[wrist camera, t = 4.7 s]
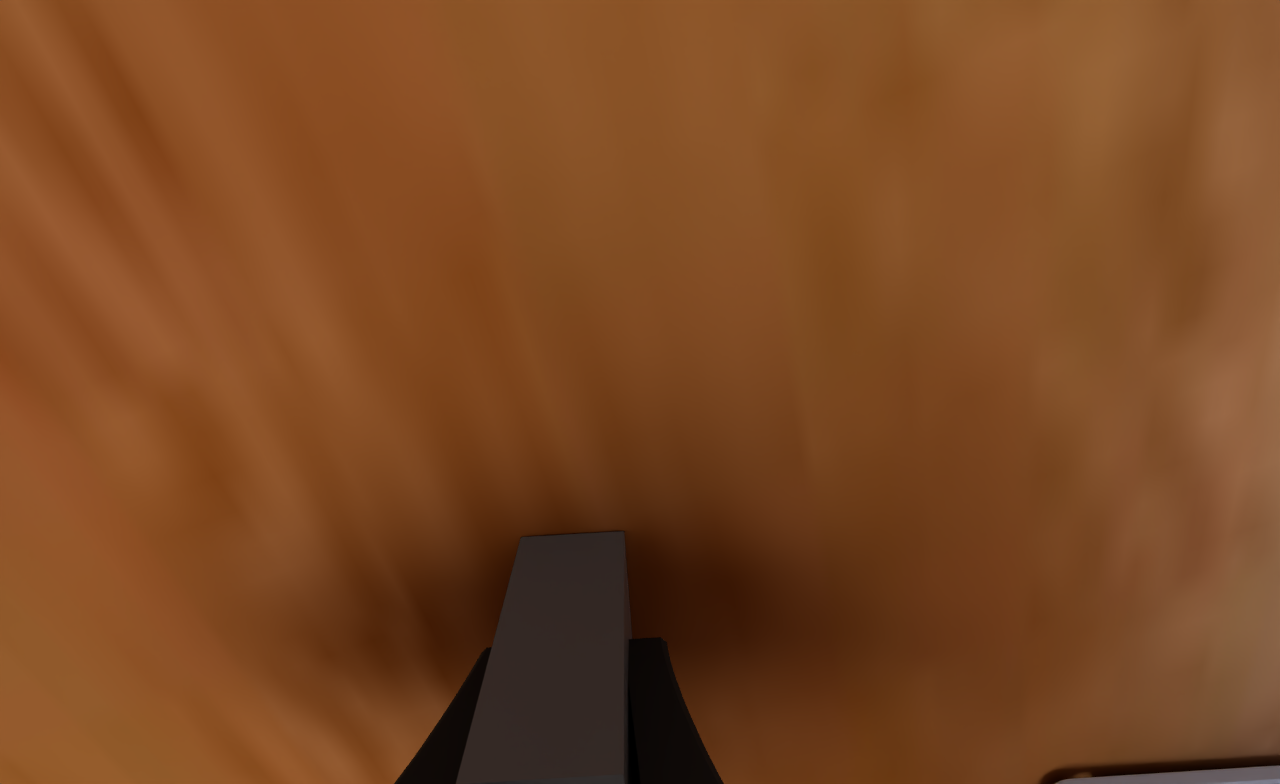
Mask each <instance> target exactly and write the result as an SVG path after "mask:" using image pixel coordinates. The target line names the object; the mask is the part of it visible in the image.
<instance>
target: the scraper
mask: <svg viewBox="0 0 1280 784" xmlns="http://www.w3.org/2000/svg"><path fill="white" fill-rule="evenodd" d="M629 639H632V627H631V614H630V601H629V587H628V574H627V561H626V548H625V534H624V531H617V532H600V533H583V534H566V535H549V536H532V537H521V538H520V542H519V546H518V550H517V554H516V557H515V561H514V565H513V569H512V573H511V576H510V580H509V584H508V588H507V592H506V595H505V599H504V603H503V607H502V610H501V614H500V618H499V622H498V626H497V629H496V633H495V637H494V641H493V645H492V648H491V652H490V656H489V660H488V664H487V667H486V671H485V675H484V679H483V683H482V686H481V690H480V694H479V698H478V701H477V705H476V709H475V713H474V717H473V720H472V724H471V728H470V732H469V736H468V739H467V743H466V747H465V751H464V755H463V758H462V762H461V766H460V770H459V773H458V777H457V781H456V784H637V783H636V771H635V758H634V746H633V734H632V721H631V709H630V697H629V684H628V657H629Z"/></svg>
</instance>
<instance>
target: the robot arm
mask: <svg viewBox="0 0 1280 784" xmlns="http://www.w3.org/2000/svg"><path fill="white" fill-rule="evenodd" d="M491 648H492V647H489V648H486V649H485V650H484V651H483V652H482V653H481V655H480V656H479V658H478V660H477V661H476V663H475V665H474V667H473V668H472V670H471V672H470V673H469V675H468V677H467V678H466V680H465V681H464V683H463V685H462V686H461V688H460V689H459V691H458V693H457V694H456V696H455V697H454V699H453V700H452V702H451V704H450V705H449V707H448V708H447V710H446V711H445V713H444V714H443V716H442V717H441V719H440V720H439V722H438V723H437V725H436V726H435V728H434V729H433V731H432V732H431V733H430V735H429V736H428V738H427V739H426V741H425V742H424V744H423V745H422V747H421V748H420V750H419V751H418V752H417V754H416V755H415V757H414V758H413V759H412V761H411V762H410V763H409V765H408V766H407V767H406V769H405V770H404V771H403V773H402V774H401V775H400V777H399V778H398V779H397V781H396V782H395V783H394V784H456V781H457V777H458V773H459V770H460V766H461V762H462V758H463V755H464V751H465V747H466V743H467V739H468V736H469V732H470V728H471V724H472V720H473V717H474V713H475V709H476V705H477V701H478V698H479V694H480V690H481V686H482V683H483V679H484V675H485V671H486V667H487V664H488V660H489V656H490V652H491ZM628 684H629V697H630V709H631V721H632V734H633V746H634V758H635V771H636V783H637V784H723V782H722V780H721V778H720V776H719V774H718V772H717V770H716V768H715V766H714V765H713V763H712V761H711V759H710V757H709V755H708V753H707V751H706V749H705V747H704V745H703V742H702V740H701V738H700V736H699V734H698V731H697V729H696V727H695V725H694V723H693V720H692V718H691V716H690V714H689V711H688V709H687V706H686V704H685V702H684V699H683V697H682V694H681V691H680V688H679V686H678V683H677V680H676V677H675V674H674V671H673V668H672V664H671V661H670V657H669V652H668V647H667V642H666V641H665V640H663V639H662V638H661V637H659V638H642V639H629V657H628ZM1054 784H1280V765H1277V766H1261V767H1245V768H1230V769H1214V770H1198V771H1182V772H1167V773H1151V774H1135V775H1119V776H1104V777H1088V778H1072V779H1065V780H1060V781H1058V782H1056V783H1054Z"/></svg>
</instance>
